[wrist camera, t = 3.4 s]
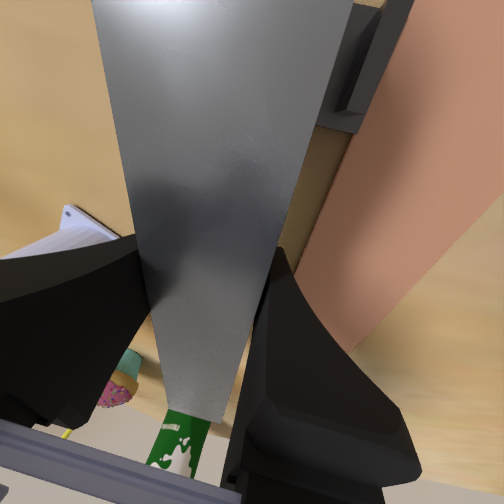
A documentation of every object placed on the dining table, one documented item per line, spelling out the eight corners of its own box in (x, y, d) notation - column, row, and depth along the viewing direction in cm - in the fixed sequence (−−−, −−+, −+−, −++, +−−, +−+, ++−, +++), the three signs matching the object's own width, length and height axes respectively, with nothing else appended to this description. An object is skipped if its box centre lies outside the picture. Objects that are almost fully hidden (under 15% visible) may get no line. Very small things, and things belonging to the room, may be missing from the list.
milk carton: (191, 417, 47) (136, 575, 31) (165, 400, 43) (87, 568, 27) (218, 417, 43) (173, 597, 27) (192, 398, 40) (120, 592, 23)
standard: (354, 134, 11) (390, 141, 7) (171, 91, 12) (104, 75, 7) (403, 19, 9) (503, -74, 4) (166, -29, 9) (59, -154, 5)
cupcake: (135, 370, 37) (77, 460, 27) (96, 345, 34) (15, 437, 24) (162, 363, 33) (106, 465, 23) (120, 334, 30) (36, 438, 20)
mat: (349, 349, 22) (350, 352, 22) (271, 327, 22) (271, 330, 22) (744, -77, 6) (768, -88, 6) (461, -125, 7) (470, -138, 6)
